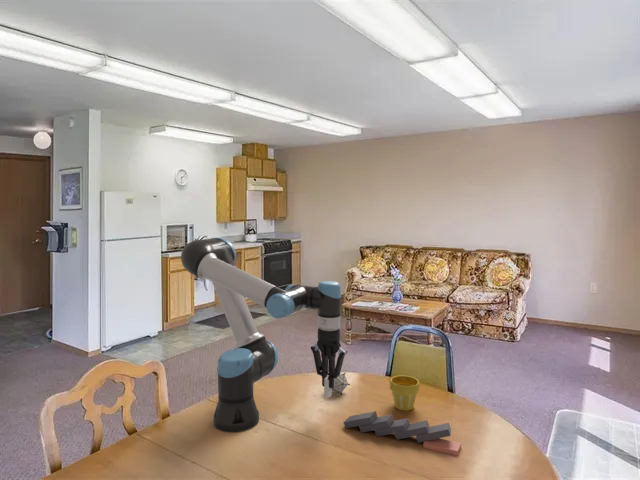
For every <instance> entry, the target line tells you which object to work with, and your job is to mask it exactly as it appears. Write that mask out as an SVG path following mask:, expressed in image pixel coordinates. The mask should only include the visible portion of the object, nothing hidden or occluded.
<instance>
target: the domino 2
mask: <svg viewBox="0 0 640 480" xmlns="http://www.w3.org/2000/svg"><path fill="white" fill-rule="evenodd" d="M393 421H395V420H394V417H393V414H392V413H391V414H386V415H382V416H378V418H377V419H376V420H375V421H374V422H373V423H372V424H367V425H361V426H358V427H359V429H360V433H366V432H371V431H375V430H377V429H382V428H387V427H390V425H391V424H392V422H393Z"/></svg>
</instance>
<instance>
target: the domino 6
mask: <svg viewBox="0 0 640 480" xmlns="http://www.w3.org/2000/svg"><path fill="white" fill-rule="evenodd" d="M422 445H423V448H425V449H430V450H433V451H438V452H441V453H444V454H445V453H446V454H449V455H454V456H457V457H458V456H459V453H460V451H461V449H462V443H461V442H457V441H453V440H450V439H449V440H448V439H444V438H438V439H433V440H428V441H424V442H423V444H422Z"/></svg>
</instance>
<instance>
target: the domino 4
mask: <svg viewBox="0 0 640 480" xmlns="http://www.w3.org/2000/svg"><path fill="white" fill-rule="evenodd" d="M429 427H430V424H429V421H428V419H426V420H422V421H417V422H412V423H410V425H409V427H408V429H407V431H406V432H400V433H394V435H395V439H396V440H402V439H407V438H411V437H416V436H417V435H421V434H426V433H428V431H429Z"/></svg>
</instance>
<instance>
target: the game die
mask: <svg viewBox="0 0 640 480" xmlns="http://www.w3.org/2000/svg"><path fill="white" fill-rule="evenodd" d="M348 382H349V381H348V380H347V377H346V372H344V373H341V372H340V375H339V376H338V377H337V378H334V387H333V388H332V392H336V393H338V394H339V393H340V395H341V396H342V395H343V392H344V391H345V389H346V388H347V386H351V384H350V383H348Z"/></svg>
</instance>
